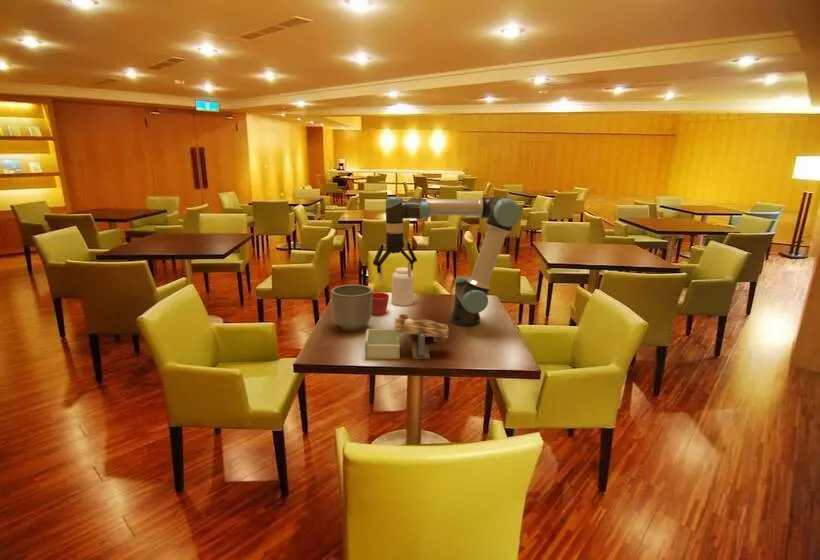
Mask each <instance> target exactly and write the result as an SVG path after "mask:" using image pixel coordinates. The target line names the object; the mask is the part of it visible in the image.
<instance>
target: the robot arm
mask: <svg viewBox="0 0 820 560" xmlns="http://www.w3.org/2000/svg"><path fill="white" fill-rule="evenodd" d="M431 216H463V217H465V216H468V217H469V216H473V217H478V218H479V219H487V220H486V223H485V224H486V226H487V230H486V233H485V236H484V239H483V242H482V244H481V247H480V251H479V253H478V256H477V258H476V261H475V265H474V267H473V268H472V269H473V270H472V272H471V275H470V276H458V277H456V278H455V282H454V302H453V303H454V304H453V308H452V312H451V313H450V317H449V320H450V322H451V323H452V324H453V325H457V326H461V327H475V326H478V325H479V324H480V323H481V316H480V313H481V312H483V311H484V310H485V309H486V308H487V307H488V304H489V297H488V296H489V292H490V289H491V287H490V284H489V283H490V279H491V278H492V274H493V272H494V270H495V265H496V264H497V261H498V258H499V255H500V252H501V250H502V247H503V245H504V242H505V239H506V236H507V234H510V233H511V232H512V229H513V227H514V225H516V224H517V223H518V222H519V220H520V217H521V207H520V206H519V204H518V203H517V202H516V201H514V200H513V199H511V198H507V197H504V196H501V195H499V196H490V197H489V196H488V197H487V196H486V197H479V198H478V199H458V198H445V199H444V198H417V197H411V198H409V199H408V200H407V201H404V199H403V197H402V196H388V197H387V198H386V199H385V229H386V230H385V232H386V235H385V236H386V238H385V239H386V243H379V248H378V250H377V251H376V255H375V257H374V259H373V261H372V265H374V266H376V270H377V274H379V275H378V276H379V280H380V281H382V282H383V281H384V277H383V275H384V274H383V273H384V272H383V270H384V269H383V268H384V267H383V266H382V264H384V262H385V261H386V259H387V258H388V257H389V255H391V254H399V253H401V255H402V256H404V257H405V259H406V260H407V261H408V262H407V268H408V277H409V278H411V272H412V271H413V270H414V263H416V262H417V261H418V259H417V257H416V255H415V254H414V251H413V250H412V247H411V242H409V241H405V242H404V233H403V232H404V220H406V219H409V220H410V219H421V220H423V219H429V218H430V217H431ZM404 247H405V248H406V250H407V251H408V253H409V255H410V256H409V255H408V254H407V253H406V251H405V250H404V249H403V248H404ZM385 248H386V250H385ZM384 250H385V252H384V254H383V251H384ZM382 254H383V255H382Z"/></svg>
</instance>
